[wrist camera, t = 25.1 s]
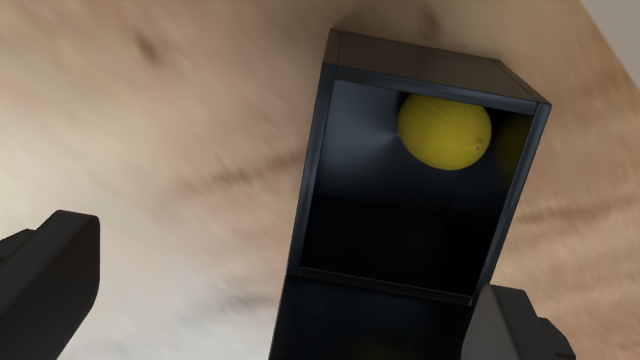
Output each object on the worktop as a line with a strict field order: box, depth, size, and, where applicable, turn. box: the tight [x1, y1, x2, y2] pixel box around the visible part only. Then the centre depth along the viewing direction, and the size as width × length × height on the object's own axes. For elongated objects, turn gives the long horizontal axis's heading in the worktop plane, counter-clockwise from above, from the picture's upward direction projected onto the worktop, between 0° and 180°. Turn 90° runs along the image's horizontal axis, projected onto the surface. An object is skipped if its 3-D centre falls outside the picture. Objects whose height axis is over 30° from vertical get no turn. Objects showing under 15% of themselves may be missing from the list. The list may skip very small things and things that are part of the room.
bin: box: [286, 29, 552, 307], centre depth 38 cm, size 14×13×12 cm
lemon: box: [397, 93, 492, 170], centre depth 38 cm, size 6×6×8 cm
